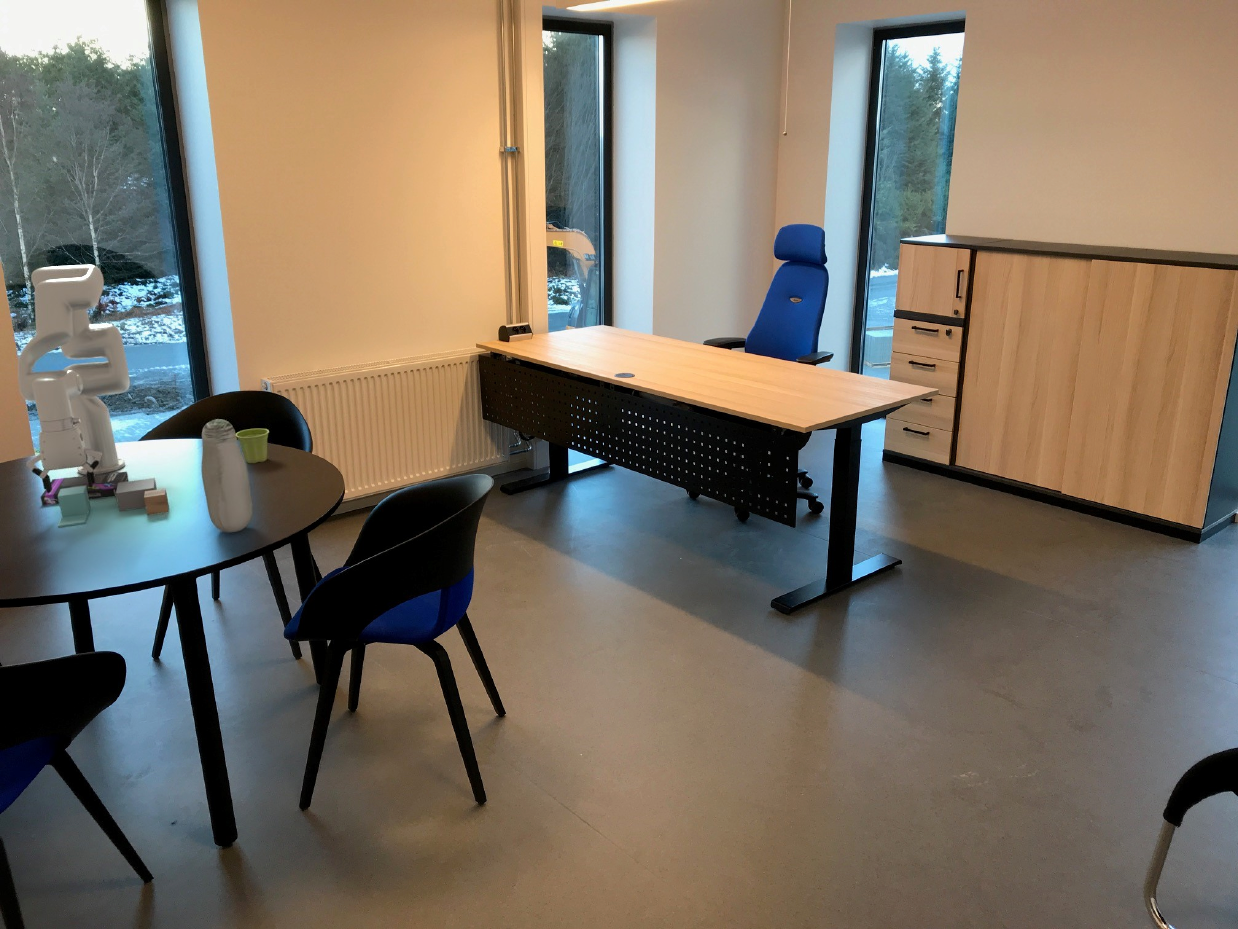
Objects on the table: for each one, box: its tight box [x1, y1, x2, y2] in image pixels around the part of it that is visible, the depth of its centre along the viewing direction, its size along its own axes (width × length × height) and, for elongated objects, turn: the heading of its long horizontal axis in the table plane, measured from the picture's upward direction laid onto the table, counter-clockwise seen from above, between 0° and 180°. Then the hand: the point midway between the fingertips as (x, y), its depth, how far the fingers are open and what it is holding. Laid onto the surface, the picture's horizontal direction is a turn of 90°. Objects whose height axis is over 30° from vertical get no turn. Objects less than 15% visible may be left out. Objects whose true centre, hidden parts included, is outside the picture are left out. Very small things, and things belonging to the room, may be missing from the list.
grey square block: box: [115, 477, 158, 512], centre depth 265 cm, size 9×9×5 cm
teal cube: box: [58, 486, 91, 518], centre depth 259 cm, size 6×6×6 cm
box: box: [39, 471, 129, 506], centre depth 275 cm, size 14×4×20 cm
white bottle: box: [200, 418, 253, 533], centre depth 241 cm, size 10×10×28 cm
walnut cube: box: [144, 488, 170, 516], centre depth 259 cm, size 5×5×5 cm
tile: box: [57, 514, 88, 528], centre depth 254 cm, size 6×6×1 cm
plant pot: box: [235, 428, 270, 464], centre depth 297 cm, size 9×9×9 cm
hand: (70, 488), depth 258 cm, fingers open, 9 cm apart
